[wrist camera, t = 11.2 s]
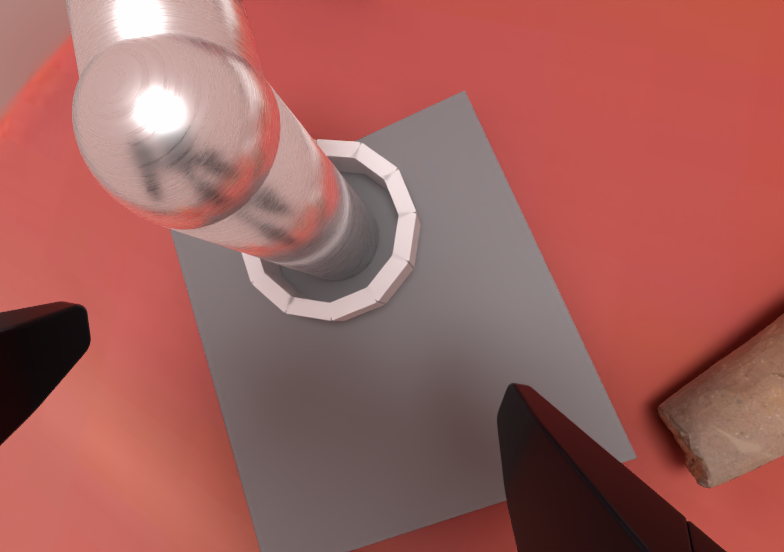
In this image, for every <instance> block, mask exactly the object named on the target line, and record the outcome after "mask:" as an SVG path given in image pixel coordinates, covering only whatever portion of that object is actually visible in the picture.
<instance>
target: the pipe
mask: <svg viewBox="0 0 784 552" xmlns="http://www.w3.org/2000/svg"><path fill="white" fill-rule="evenodd" d="M657 409H658V415H659V417H660V418H661V419H662V420H663V421H664V424H665V425H666V426H667V428H668V429H669V430H670V431H671V432H672V433H673V435H674V439H675V440H676V442H677V443H678V444H679V445H680V447H681V449H682V450H683V451H684V453H685V454H686V455H685V458H686V459H685V465H686V466H687V468H688V469H689V471H690V473H691V474H692V476H693V477H695V479H696V481H697V484H699V485H700V486H703V487H706V488H711V487H715V486H718V485H720V484H723V483H725V482H728V481H730V480H732V479H735V478H737V477H739V476H741V475H743V474H745V473H747V472H750V471H753V470H755V469H757V468H759V467H761V466H763V465H765V464H767V463H769V462H771V461H773V460H775V459H777V458H779V457H781V456H783V455H784V313H783V314H782V315H781V316H779V317H778V318H777V320H775V321H774V322H772V323H771V324H770V325H768V326H767V327H766V328H764V329H763V330H762V331H760V332H759V333H758V334H757V335H755V336H754V337H753V338H751V339H750V340H749V341H747V342H746V343H745V344H743V345H742V346H740V347H739V348H737V349H736V350H734V351H733V352H731V353H730V354H728V355H727V356H726V357H724V358H723V359H721V360H719V361H718V362H716V363H715V364H714V365H712V366H711V367H710V368H709V369H708V370H706V371H705V372H703V373H702V374H700V375H699V376H697V377H696V378H695V379H693V380H692V381H691V382H689V383H688V384H686V385H685V386H683V387H682V388H681V389H679V390H678V391H677V392H676V393H674V394H673V395H671V396H670V397H669V398H667V399H666V400H665V401H664V402H663V403H661V404H660V405H659V406H658V408H657Z"/></svg>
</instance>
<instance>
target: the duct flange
mask: <svg viewBox="0 0 784 552" xmlns="http://www.w3.org/2000/svg"><path fill="white" fill-rule="evenodd" d="M314 141H315V142H316V143H317V145H318V146H319V147H320V148H321V150H322V151H323V152H324V153H325V155H326V156H327V157H328V158H329V160H330V161H331V162H332V163H333V165H334V166H335V167H336V168H337V170H338V171H339V172H340V174H341V175H342V176H343V177H344V179H345V180H346V181H347V182H348V184H349V185H350V186H351V187H352V189H353V190H354V191H355V192H356V194H357V195H358V196H359V197H360V199H361V200H362V201H363V202H364V204H365V205H366V206H367V207H368V209H369V210H370V211H371V213H372V214H373V216H374V217H375V219H376V222H377V225H378V229H379V244H378V248H377V251H376V254H375V256H374V258H373V260H372V261H371V263H370V264H369V265H368V266H367V267H366V268H365V269H364V270H363V271H362V272H361V273H359V274H358V275H356V276H354V277H352V278H350V279H346V280H341V281H330V280H325V279H322V278H319V277H316V276H313V275H310V274H306V273H303V272H300V271H297V270H294V269H291V268H288V267H285V266H282V265H279V264H276V263H273V262H270V261H267V260H264V259H261V258H258V257H254V256H251V255H248V254H245V253H242V252H239V251H236V250H233V249H230V248H227V247H224V246H221V245H218V244H215V243H212V242H209V241H205V240H202V239H199V238H196V237H193V236H190V235H187V234H184V233H181V232H178V231H175V230H172V229H170V230H171V234H172V237H173V241H174V244H175V248H176V252H177V255H178V259H179V262H180V266H181V269H182V273H183V276H184V280H185V284H186V287H187V291H188V294H189V298H190V301H191V305H192V309H193V312H194V316H195V319H196V323H197V326H198V330H199V333H200V337H201V341H202V344H203V348H204V351H205V355H206V358H207V362H208V366H209V369H210V373H211V376H212V380H213V383H214V387H215V390H216V394H217V398H218V401H219V405H220V408H221V412H222V415H223V419H224V423H225V426H226V430H227V433H228V437H229V440H230V444H231V447H232V451H233V455H234V458H235V462H236V465H237V469H238V472H239V476H240V480H241V483H242V487H243V490H244V494H245V497H246V501H247V504H248V508H249V512H250V515H251V519H252V522H253V526H254V529H255V533H256V537H257V540H258V544H259V547H260V551H261V552H349V551H352V550H355V549H358V548H361V547H365V546H368V545H371V544H374V543H377V542H380V541H383V540H386V539H389V538H392V537H395V536H398V535H401V534H405V533H408V532H411V531H414V530H417V529H420V528H423V527H426V526H429V525H432V524H435V523H438V522H441V521H445V520H448V519H451V518H454V517H457V516H460V515H463V514H466V513H469V512H472V511H475V510H478V509H481V508H485V507H488V506H491V505H494V504H497V503H500V502H503V501H506V495H505V489H504V482H503V473H502V464H501V456H500V447H499V438H498V429H497V414H498V410H499V408H500V405H501V402H502V400H503V397H504V394H505V392H506V389H507V387H508V385H509V384H511V383H518V384H524V385H529V386H531V387H532V388H533V389H534V390H535V391H537V392H538V393H539V394H540V395H541V396H543V397H544V398H545V399H546V400H547V401H548V402H550V403H551V404H552V405H553V406H554V407H556V408H557V409H558V410H559V411H560V412H561V413H563V414H564V415H565V416H566V417H567V418H569V419H570V420H571V421H572V422H573V423H574V424H576V425H577V426H578V427H579V428H580V429H582V430H583V431H584V432H585V433H586V434H587V435H589V436H590V437H591V438H592V439H593V440H595V441H596V442H597V443H598V444H599V445H600V446H602V447H603V448H604V449H605V450H606V451H608V452H609V453H610V454H611V455H612V456H613V457H615V458H616V459H617V460H618V461H619V462H621V463H623V462H626V461H629V460H632V459H635V458H637V457H636V454H635V452H634V450H633V448H632V446H631V444H630V442H629V440H628V437H627V435H626V433H625V431H624V429H623V427H622V425H621V422H620V420H619V418H618V416H617V414H616V412H615V410H614V408H613V405H612V403H611V401H610V399H609V397H608V395H607V393H606V390H605V388H604V386H603V384H602V382H601V380H600V378H599V376H598V373H597V371H596V369H595V367H594V365H593V363H592V361H591V359H590V356H589V354H588V352H587V350H586V348H585V346H584V344H583V341H582V339H581V337H580V335H579V333H578V331H577V329H576V327H575V324H574V322H573V320H572V318H571V316H570V314H569V312H568V310H567V307H566V305H565V303H564V301H563V299H562V297H561V295H560V292H559V290H558V288H557V286H556V284H555V282H554V280H553V278H552V275H551V273H550V271H549V269H548V267H547V265H546V263H545V261H544V258H543V256H542V254H541V252H540V250H539V248H538V246H537V243H536V241H535V239H534V237H533V235H532V233H531V231H530V229H529V226H528V224H527V222H526V220H525V218H524V216H523V214H522V211H521V209H520V207H519V205H518V203H517V201H516V199H515V197H514V194H513V192H512V190H511V188H510V186H509V184H508V182H507V180H506V177H505V175H504V173H503V171H502V169H501V167H500V165H499V162H498V160H497V158H496V156H495V154H494V152H493V150H492V148H491V145H490V143H489V141H488V139H487V137H486V135H485V133H484V131H483V128H482V126H481V124H480V122H479V120H478V118H477V116H476V113H475V111H474V109H473V107H472V105H471V103H470V101H469V99H468V96H467V94H466V92H465V91H463V92H460V93H458V94H456V95H454V96H452V97H450V98H447V99H445V100H443V101H441V102H439V103H437V104H434V105H432V106H430V107H428V108H426V109H424V110H421V111H419V112H417V113H415V114H413V115H411V116H408V117H406V118H404V119H402V120H400V121H398V122H396V123H393V124H391V125H389V126H387V127H385V128H383V129H380V130H378V131H376V132H374V133H372V134H370V135H367V136H365V137H363V138H361V139H359V140H357V141H354V142H352V141H337V140H322V139H317V141H316V140H314Z"/></svg>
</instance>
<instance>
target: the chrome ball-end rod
mask: <svg viewBox="0 0 784 552" xmlns="http://www.w3.org/2000/svg"><path fill="white" fill-rule="evenodd" d="M66 4H67V10H68V16H69V21H70V27H71V33H72V38H73V44H74V50H75V55H76V61H77V66H78V72H79V80H78V83H77V86H76V89H75V93H74V97H73V104H72V118H73V129H74V134H75V138H76V141H77V144H78V148H79V150H80V153H81V155H82V157H83V159H84V161H85V163H86V165H87V166H88V168H89V170H90V172H91V173H92V175H93V176H94V177H95V179H96V180H97V181H98V182H99V184H100V185H101V186H102V187H103V188H104V190H105V191H106V192H107V193H108V194H109V195H110V196H112V197H113V198H114V199H115V200H116V201H117V202H118V203H120V204H121V205H122V206H124V207H125V208H126V209H128V210H129V211H131V212H133V213H134V214H136V215H137V216H139V217H141V218H143V219H145V220H148V221H150V222H152V223H155V224H157V225H160V226H163V227H166V228H169V229H172V230H175V231H178V232H181V233H184V234H187V235H190V236H193V237H196V238H199V239H202V240H205V241H209V242H212V243H215V244H218V245H221V246H224V247H227V248H230V249H233V250H236V251H239V252H242V253H245V254H248V255H251V256H254V257H258V258H261V259H264V260H267V261H270V262H273V263H276V264H279V265H282V266H285V267H288V268H291V269H294V270H297V271H300V272H303V273H306V274H310V275H313V276H316V277H319V278H322V279H325V280H330V281H341V280H346V279H350V278H352V277H354V276H356V275H358V274H359V273H361V272H362V271H363V270H364V269H365V268H366V267H367V266H368V265H369V264H370V263H371V261H372V260H373V258H374V256H375V254H376V251H377V248H378V244H379V229H378V225H377V222H376V219H375V217H374V216H373V214H372V213H371V211H370V210H369V209H368V207H367V206H366V205H365V204H364V202H363V201H362V200H361V199H360V197H359V196H358V195H357V194H356V192H355V191H354V190H353V189H352V187H351V186H350V185H349V184H348V182H347V181H346V180H345V179H344V177H343V176H342V175H341V174H340V172H339V171H338V170H337V168H336V167H335V166H334V165H333V163H332V162H331V161H330V160H329V158H328V157H327V156H326V155H325V153H324V152H323V151H322V150H321V148H320V147H319V146H318V145H317V143H316V142H315V141H314V140H313V138H312V137H311V136H310V135H309V133H308V132H307V131H306V129H305V128H304V127H303V126H302V124H301V123H300V122H299V121H298V119H297V118H296V117H295V116H294V114H293V113H292V112H291V111H290V109H289V108H288V107H287V106H286V104H285V103H284V102H283V101H282V99H281V98H280V97H279V96H278V94H277V93H276V92H275V91H274V89H273V88H272V87H271V85H270V84H269V83H268V82H267V80H266V79H265V78H264V75H263V72H262V68H261V64H260V61H259V57H258V53H257V50H256V46H255V43H254V39H253V35H252V32H251V28H250V24H249V21H248V17H247V13H246V10H245V6H244V2H243V0H66Z"/></svg>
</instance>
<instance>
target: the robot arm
mask: <svg viewBox="0 0 784 552" xmlns="http://www.w3.org/2000/svg"><path fill="white" fill-rule="evenodd" d="M90 341H91V337H90V329H89V322H88V314H87V310H86V309H85V307H84V306H82V305H80V304H74V303H69V302H54V303H49V304H43V305H38V306H33V307H27V308H22V309H17V310H12V311H6V312H1V313H0V445H1V444H2V443H3V442H4V441H6V440H7V439H8V438H9V437H10V436H11V435H12V434H13V433H14V432H15V431H16V430H17V429H18V428H19V427H20V426H21V425H22V424H23V423H24V422H25V421H26V420H27V419H28V418H29V417H30V416H31V415H32V414H33V413H34V411H35V410H36V409H37V408H38V407H39V406H40V405H41V404H42V403H43V401H44V400H45V399H46V398H47V397H48V396H49V394H50V393H51V392H52V391H53V390H54V389H55V387H56V386H57V385H58V384H59V383H60V382H61V380H62V379H63V378H64V377H65V376H66V375H67V373H68V372H69V371H70V370H71V369H72V368H73V366H74V365H75V364H76V363H77V362H78V361H79V359H80V358H81V357H82V356H83V355H84V354H85V352H86V351H87V349H88V348H89V345H90ZM497 429H498V438H499V447H500V456H501V464H502V473H503V482H504V489H505V495H506V500H507V505H508V509H509V514H510V518H511V523H512V527H513V532H514V536H515V541H516V545H517V550H518V552H726V551H725V550H724V549H723V548H721V547H720V546H719V545H718V544H716V543H715V542H714V541H713V540H712V539H710V538H709V537H708V536H707V535H706V534H705V533H703V532H702V531H701V530H700V529H699V528H698V527H696V526H695V525H694V524H693V523H692V522H690V521H686V518H685V517H684V516H683V515H682V514H681V513H680V512H679V511H677V510H676V509H675V508H674V507H673V506H671V505H670V504H669V503H668V502H667V501H666V500H664V499H663V498H662V497H661V496H660V495H658V494H657V493H656V492H655V491H654V490H653V489H651V488H650V487H649V486H648V485H647V484H645V483H644V482H643V481H642V480H641V479H640V478H638V477H637V476H636V475H635V474H634V473H632V472H631V471H630V470H629V469H628V468H626V467H625V466H624V465H623V464H622V463H621V462H619V461H618V460H617V459H616V458H615V457H613V456H612V455H611V454H610V453H609V452H608V451H606V450H605V449H604V448H603V447H602V446H600V445H599V444H598V443H597V442H596V441H595V440H593V439H592V438H591V437H590V436H589V435H587V434H586V433H585V432H584V431H583V430H582V429H580V428H579V427H578V426H577V425H576V424H574V423H573V422H572V421H571V420H570V419H569V418H567V417H566V416H565V415H564V414H563V413H561V412H560V411H559V410H558V409H557V408H556V407H554V406H553V405H552V404H551V403H550V402H548V401H547V400H546V399H545V398H544V397H543V396H541V395H540V394H539V393H538V392H537V391H535V390H534V389H533V388H532V387H531V386H529V385H524V384H518V383H511V384H509V385H508V387H507V389H506V392H505V394H504V397H503V400H502V402H501V405H500V408H499V410H498V414H497Z"/></svg>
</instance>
